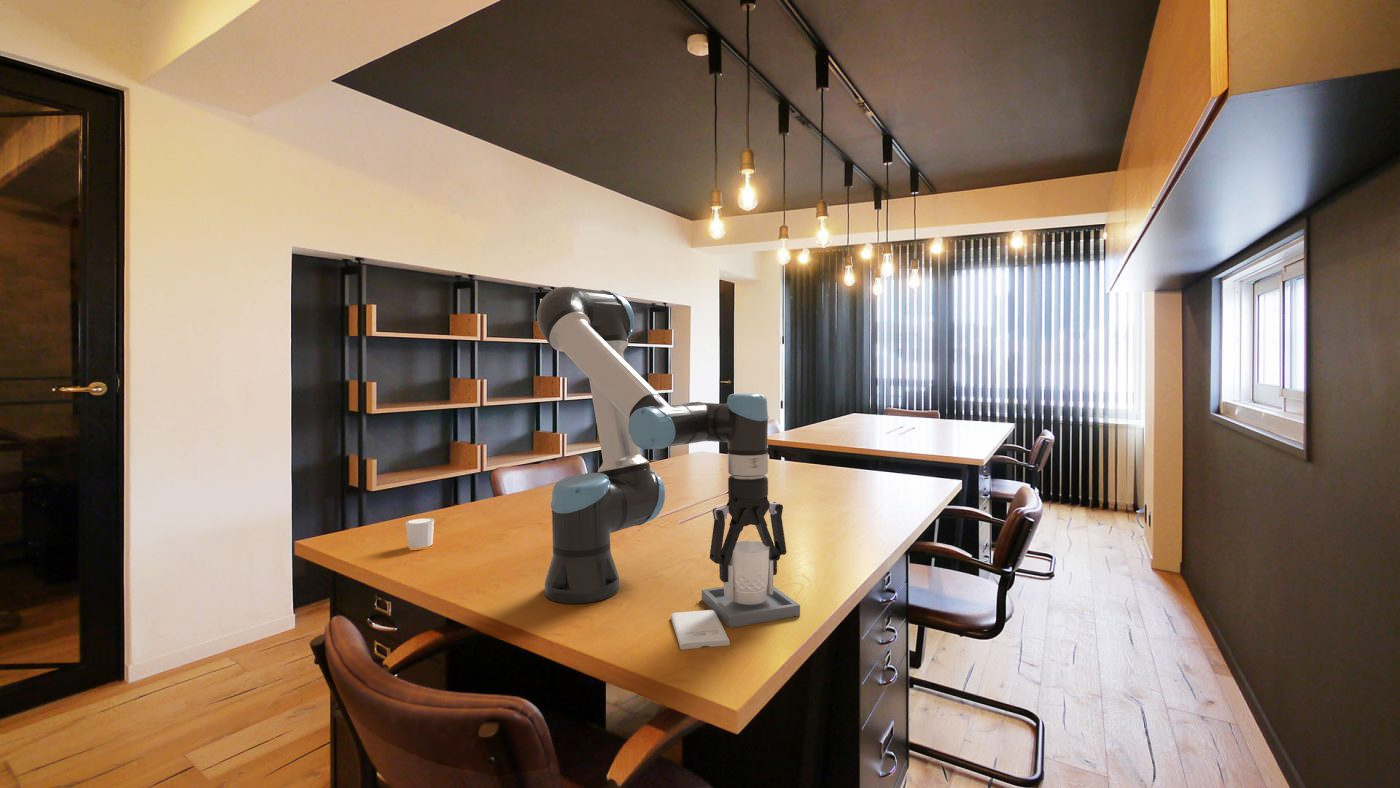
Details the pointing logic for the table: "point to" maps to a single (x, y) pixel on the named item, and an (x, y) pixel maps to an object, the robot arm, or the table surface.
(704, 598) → the tray
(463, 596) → the table surface
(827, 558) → the table surface
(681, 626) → the external hard drive
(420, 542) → the white short cylinder
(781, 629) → the table surface
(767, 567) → the white cup
